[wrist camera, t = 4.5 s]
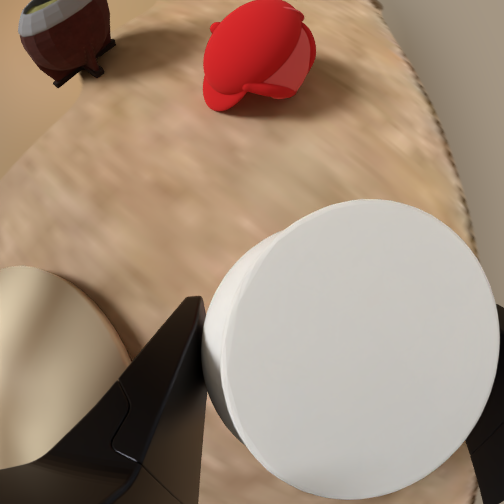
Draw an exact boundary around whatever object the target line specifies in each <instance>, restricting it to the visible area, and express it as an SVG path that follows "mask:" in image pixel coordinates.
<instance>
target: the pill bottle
mask: <svg viewBox="0 0 504 504" xmlns="http://www.w3.org/2000/svg"><path fill="white" fill-rule="evenodd" d="M499 345H500V331H499V320H498V313H497V308H496V303H495V299H494V296H493V292H492V290H491V287H490V284H489V281H488V279H487V277H486V275H485V273H484V270H483V268H482V266H481V265H480V263H479V261H478V259H477V258H476V256H475V255H474V253H473V252H472V251H471V249H470V248H469V247H468V246H467V245H466V243H465V242H464V241H463V240H462V239H461V238H460V237H459V236H458V235H457V234H456V233H455V232H454V231H453V230H452V229H451V228H449V227H448V226H447V225H445V224H444V223H443V222H441V221H440V220H438V219H437V218H435V217H434V216H432V215H430V214H428V213H426V212H424V211H422V210H420V209H418V208H415V207H413V206H410V205H406V204H403V203H400V202H395V201H390V200H380V199H360V200H351V201H347V202H342V203H338V204H333V205H330V206H327V207H324V208H322V209H320V210H317V211H315V212H313V213H311V214H309V215H307V216H305V217H303V218H301V219H300V220H298V221H296V222H294V223H293V224H292V225H290V226H289V227H288V228H286V229H285V230H282V231H280V232H277V233H275V234H273V235H271V236H269V237H268V238H266V239H264V240H263V241H261V242H260V243H258V244H257V245H255V246H254V247H253V248H251V249H250V250H249V251H247V252H246V253H245V254H244V255H243V256H242V257H241V258H240V259H239V260H238V261H237V262H236V263H235V264H234V265H233V267H232V268H231V269H230V270H229V272H228V273H227V274H226V275H225V277H224V278H223V280H222V282H221V283H220V285H219V287H218V288H217V290H216V292H215V294H214V296H213V298H212V301H211V303H210V306H209V309H208V311H207V314H206V318H205V322H204V327H203V333H202V343H201V361H202V371H203V376H204V381H205V385H206V388H207V391H208V394H209V396H210V399H211V401H212V403H213V405H214V407H215V410H216V412H217V413H218V415H219V416H220V418H221V419H222V421H223V422H224V424H225V425H226V427H227V428H228V429H229V430H230V431H231V432H232V434H233V435H234V436H235V437H236V438H237V439H238V440H239V441H240V442H242V443H243V444H244V445H245V446H247V448H248V449H249V450H250V452H251V453H252V454H253V455H254V457H255V458H256V459H257V460H258V461H259V462H260V463H261V464H262V465H263V466H264V467H265V468H266V469H267V470H268V471H269V472H271V473H272V474H273V475H275V476H276V477H278V478H279V479H280V480H282V481H284V482H286V483H288V484H290V485H291V486H293V487H295V488H297V489H299V490H301V491H304V492H307V493H311V494H314V495H317V496H321V497H325V498H333V499H343V500H354V499H365V498H372V497H377V496H382V495H386V494H389V493H392V492H396V491H398V490H400V489H403V488H405V487H407V486H409V485H411V484H413V483H415V482H417V481H419V480H421V479H423V478H424V477H426V476H427V475H428V474H430V473H431V472H433V471H434V470H436V469H437V468H438V467H439V466H440V465H442V464H443V463H444V462H445V461H446V460H447V459H448V458H449V457H450V456H451V455H452V454H453V453H454V452H455V451H456V450H457V449H458V448H459V447H460V446H461V445H462V443H463V442H464V441H465V439H466V438H467V437H468V435H469V434H470V432H471V431H472V429H473V428H474V426H475V425H476V423H477V421H478V420H479V418H480V416H481V414H482V412H483V410H484V407H485V405H486V403H487V400H488V398H489V395H490V393H491V390H492V386H493V383H494V379H495V375H496V370H497V364H498V358H499Z"/></svg>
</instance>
